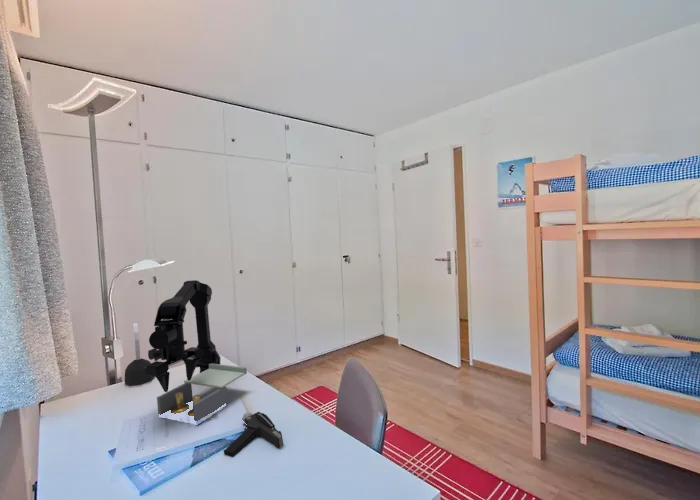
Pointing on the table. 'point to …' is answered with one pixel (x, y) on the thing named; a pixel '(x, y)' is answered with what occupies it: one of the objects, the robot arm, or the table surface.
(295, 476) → the table surface
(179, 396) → the brass door knob
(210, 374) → the lid
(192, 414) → the brass knob
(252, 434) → the toy gun
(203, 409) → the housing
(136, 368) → the black plunger
